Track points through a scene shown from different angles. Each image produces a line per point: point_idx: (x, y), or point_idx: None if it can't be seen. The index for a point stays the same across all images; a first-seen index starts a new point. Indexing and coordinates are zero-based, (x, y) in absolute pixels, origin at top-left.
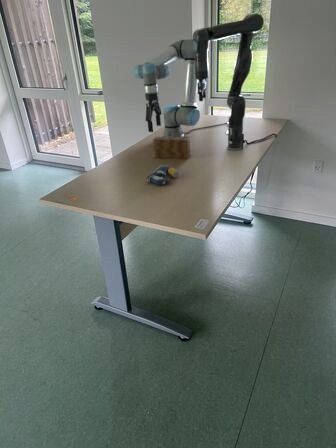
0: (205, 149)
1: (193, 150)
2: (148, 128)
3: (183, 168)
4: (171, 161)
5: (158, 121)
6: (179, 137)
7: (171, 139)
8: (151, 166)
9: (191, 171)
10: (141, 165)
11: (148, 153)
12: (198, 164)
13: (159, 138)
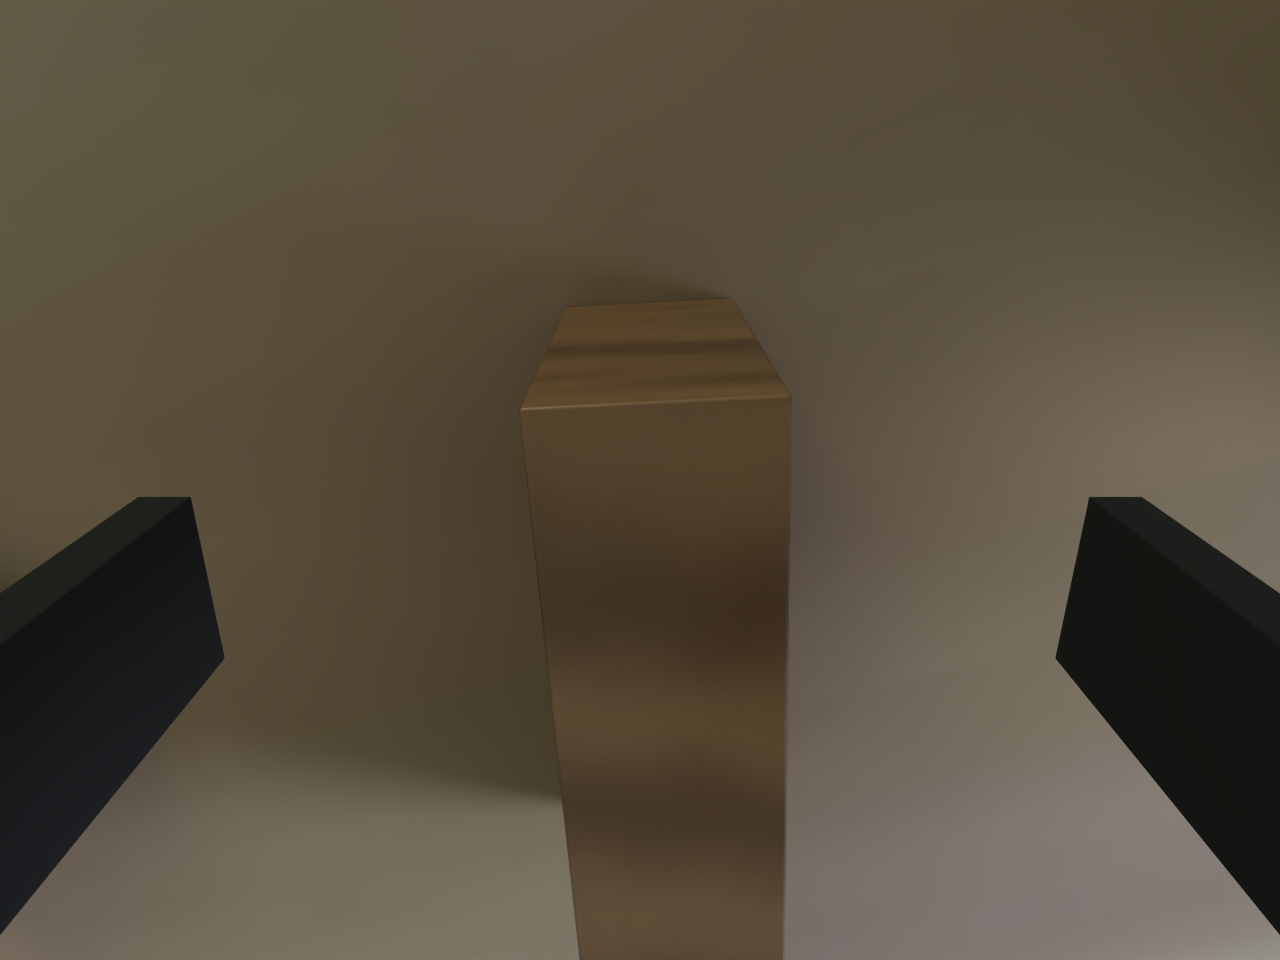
0: (1003, 916)
1: (966, 789)
2: (45, 575)
3: (264, 834)
4: (467, 624)
5: (1172, 702)
6: (735, 947)
7: (577, 841)
8: (178, 392)
9: (207, 932)
10: (156, 188)
11: (802, 58)
12: (442, 951)
13: (623, 553)
